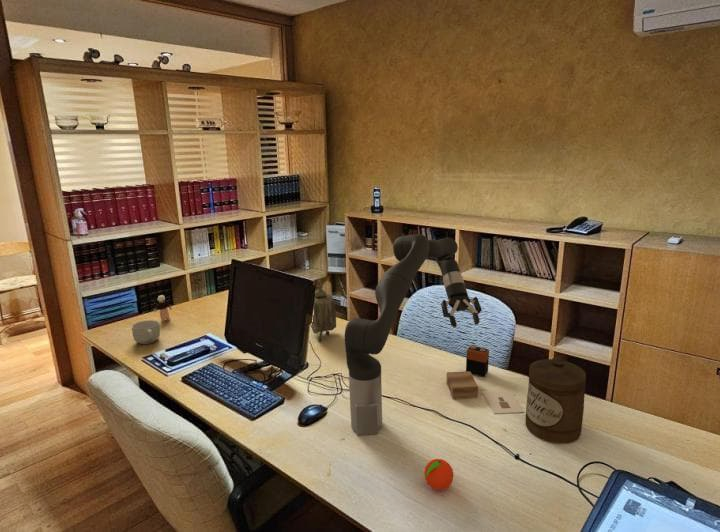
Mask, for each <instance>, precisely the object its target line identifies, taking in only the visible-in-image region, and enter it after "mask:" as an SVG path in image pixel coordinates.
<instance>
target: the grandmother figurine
mask: <svg viewBox="0 0 720 532" xmlns="http://www.w3.org/2000/svg"><path fill="white" fill-rule="evenodd" d="M165 300H166V297H165V295H164V294H161V295H158V297H157V302H159V303H158V304H157V303H156V305H155V306H154V310H153V312H154V313H156V312H157V311H159V316H160V322H161V323H165V322H169V321H171V319H172V318H171V317H170V313H169V310H172V309H173V307H172V306H171V304H169V303H168V302H166V301H165ZM168 308H169V310H168Z"/></svg>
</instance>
